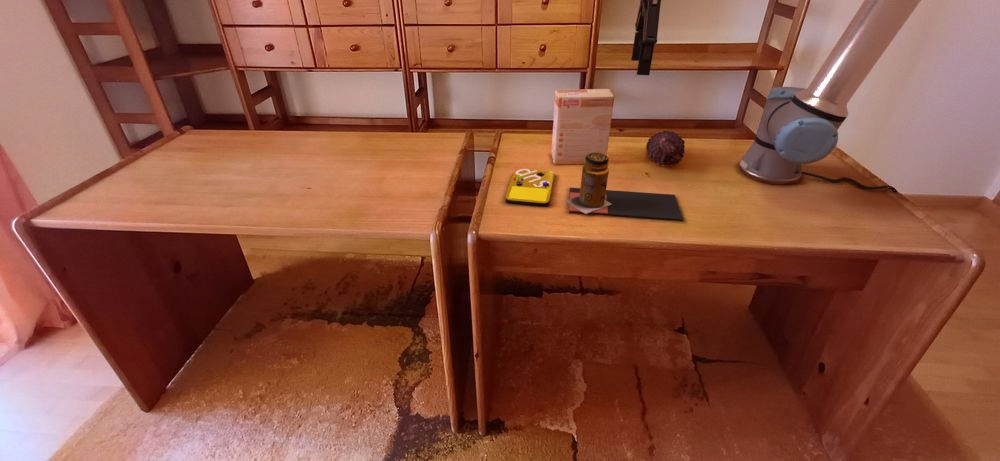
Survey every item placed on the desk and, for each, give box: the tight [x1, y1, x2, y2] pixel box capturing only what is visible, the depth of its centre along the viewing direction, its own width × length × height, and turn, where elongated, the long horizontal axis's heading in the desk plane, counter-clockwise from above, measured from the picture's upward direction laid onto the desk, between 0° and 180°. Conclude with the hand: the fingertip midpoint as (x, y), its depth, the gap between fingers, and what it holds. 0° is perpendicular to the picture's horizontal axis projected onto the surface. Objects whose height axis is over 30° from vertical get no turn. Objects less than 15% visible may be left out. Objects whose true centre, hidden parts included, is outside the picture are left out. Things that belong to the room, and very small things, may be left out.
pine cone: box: [645, 130, 686, 167], centre depth 135 cm, size 18×10×10 cm
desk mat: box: [568, 187, 684, 222], centre depth 116 cm, size 26×12×1 cm, turn 82°
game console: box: [504, 168, 555, 208], centre depth 123 cm, size 18×11×2 cm, turn 171°
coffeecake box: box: [551, 88, 615, 165], centre depth 133 cm, size 15×7×20 cm, turn 92°
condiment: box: [565, 153, 611, 215], centre depth 112 cm, size 7×8×12 cm
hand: (639, 67), depth 114 cm, fingers open, 13 cm apart
